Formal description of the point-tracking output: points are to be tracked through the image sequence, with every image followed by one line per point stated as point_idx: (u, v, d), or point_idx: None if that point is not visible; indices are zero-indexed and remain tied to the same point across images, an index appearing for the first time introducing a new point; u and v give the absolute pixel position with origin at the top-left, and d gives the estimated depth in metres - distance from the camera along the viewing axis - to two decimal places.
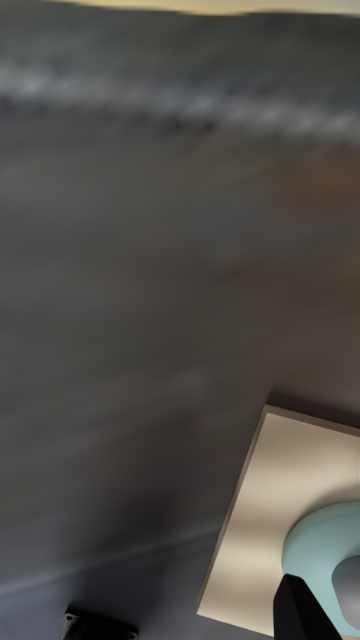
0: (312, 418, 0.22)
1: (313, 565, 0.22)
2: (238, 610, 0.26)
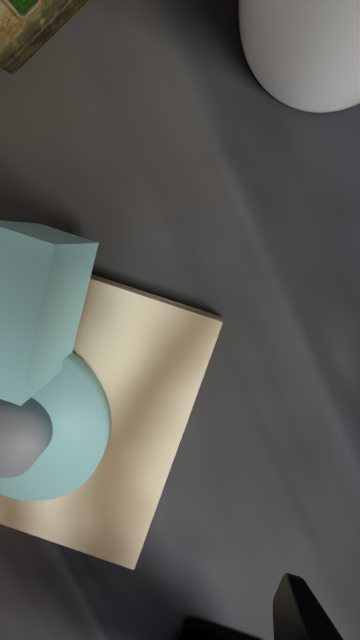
0: None
1: None
2: (123, 529, 0.22)
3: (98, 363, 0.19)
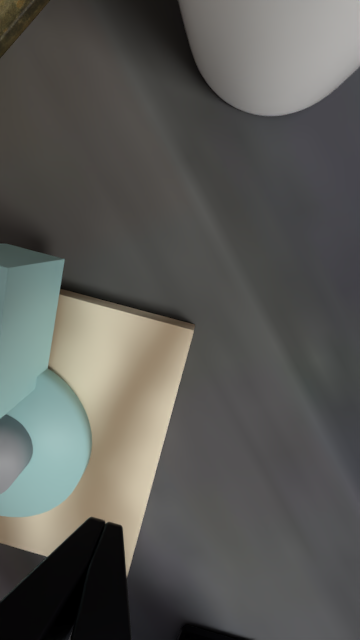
0: None
1: None
2: None
3: (74, 377, 0.19)
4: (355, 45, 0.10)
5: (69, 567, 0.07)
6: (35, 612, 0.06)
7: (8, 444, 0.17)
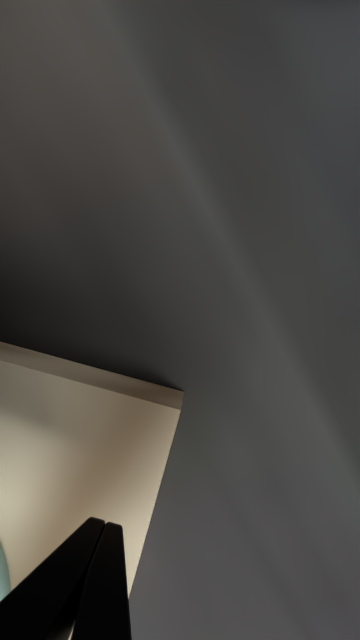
0: None
1: None
2: None
3: None
4: None
5: (69, 567, 0.07)
6: (35, 612, 0.06)
7: None
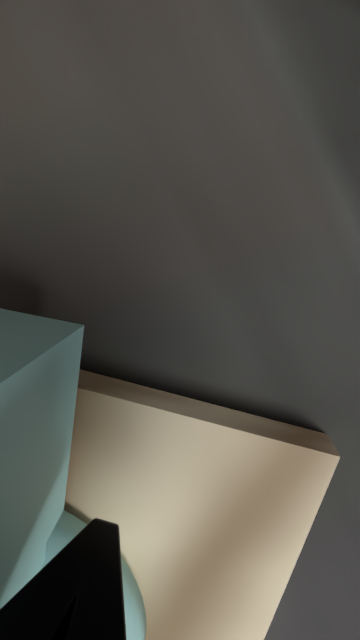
0: None
1: None
2: None
3: None
4: None
5: (74, 569, 0.07)
6: (41, 614, 0.06)
7: None
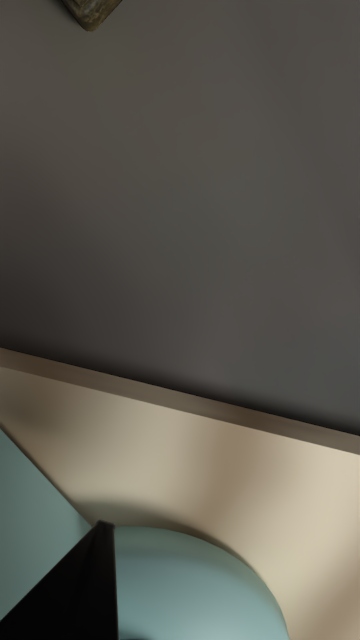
0: None
1: None
2: None
3: (265, 560, 0.11)
4: None
5: (82, 571, 0.07)
6: (50, 617, 0.06)
7: None
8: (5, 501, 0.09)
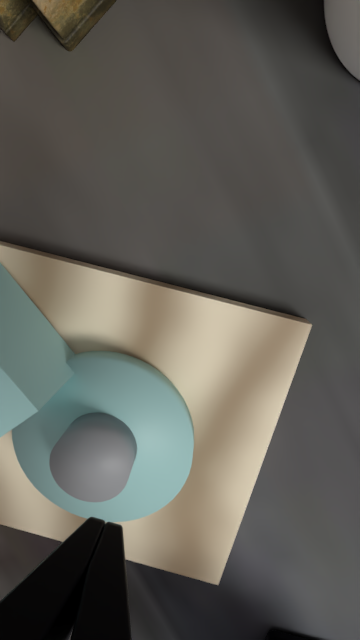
0: None
1: (137, 490, 0.19)
2: (206, 544, 0.21)
3: (178, 375, 0.19)
4: None
5: (69, 567, 0.07)
6: (35, 612, 0.06)
7: (92, 429, 0.16)
8: (23, 317, 0.17)
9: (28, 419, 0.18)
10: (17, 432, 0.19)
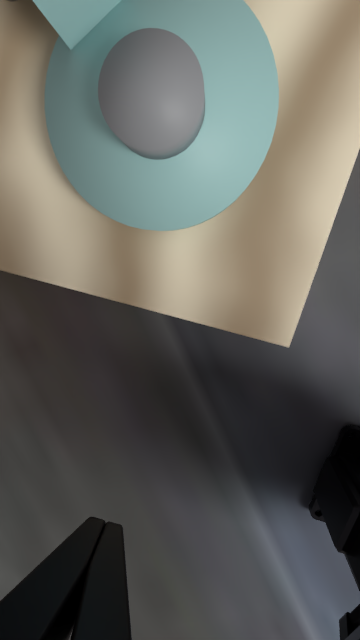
0: None
1: (203, 175, 0.15)
2: (277, 287, 0.17)
3: None
4: None
5: (69, 567, 0.07)
6: (35, 612, 0.06)
7: None
8: None
9: (66, 74, 0.14)
10: (52, 97, 0.15)
